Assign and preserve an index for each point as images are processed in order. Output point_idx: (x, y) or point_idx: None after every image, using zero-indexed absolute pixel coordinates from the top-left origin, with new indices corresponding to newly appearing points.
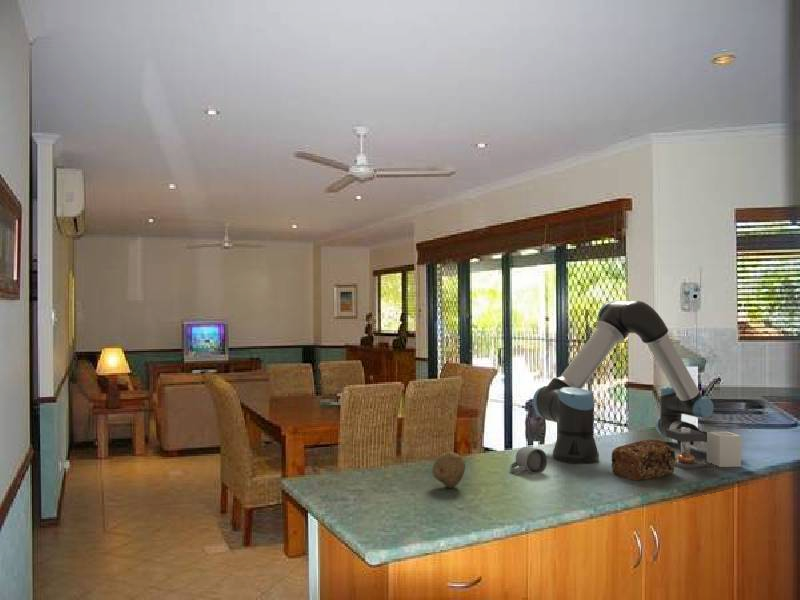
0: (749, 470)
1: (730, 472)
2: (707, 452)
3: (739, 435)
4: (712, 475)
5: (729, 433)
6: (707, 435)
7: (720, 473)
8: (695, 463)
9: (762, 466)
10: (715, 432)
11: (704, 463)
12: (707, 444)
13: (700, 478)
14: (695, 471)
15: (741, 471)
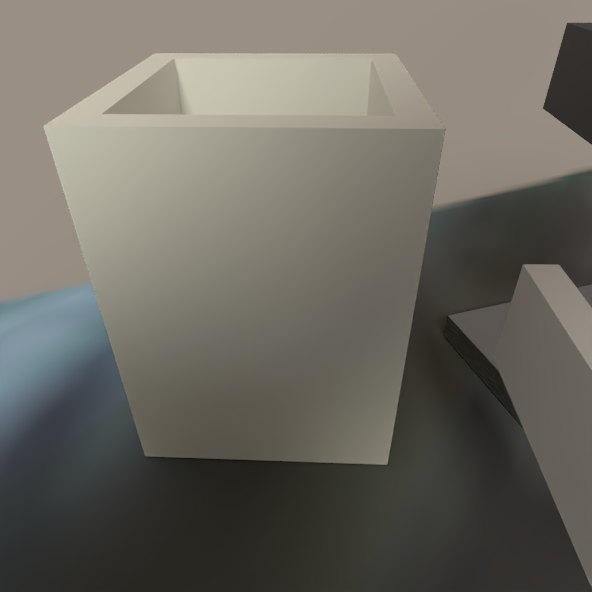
0: None
1: None
2: (398, 379)
3: (154, 57)
4: (503, 210)
5: (126, 103)
6: (433, 179)
7: (442, 227)
8: None
9: (26, 307)
10: (304, 119)
11: (492, 310)
12: (411, 301)
13: (581, 188)
14: (585, 257)
15: None
